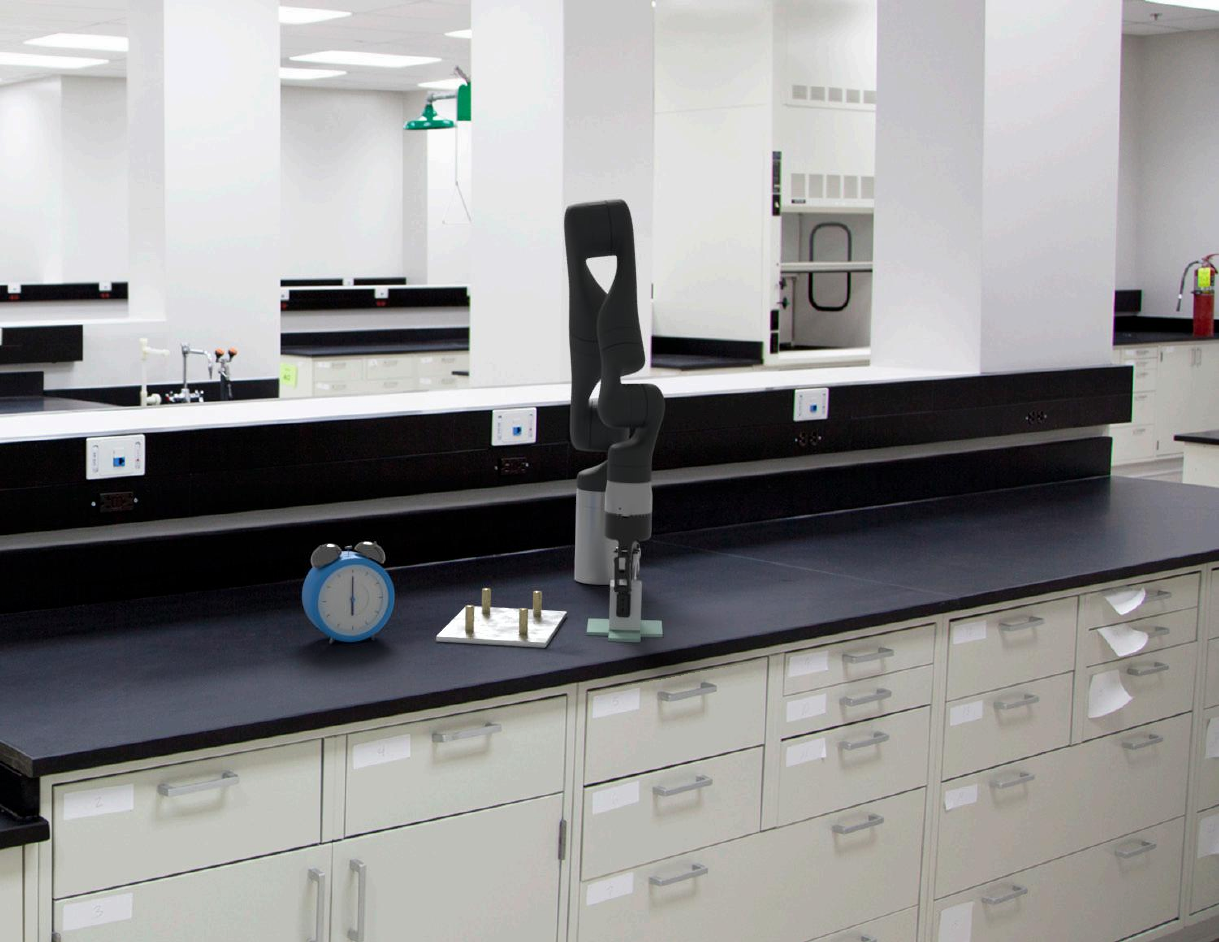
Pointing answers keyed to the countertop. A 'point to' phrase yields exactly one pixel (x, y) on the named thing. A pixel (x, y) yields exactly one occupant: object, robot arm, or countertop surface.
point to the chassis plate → (503, 624)
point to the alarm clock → (348, 592)
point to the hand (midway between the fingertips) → (625, 612)
